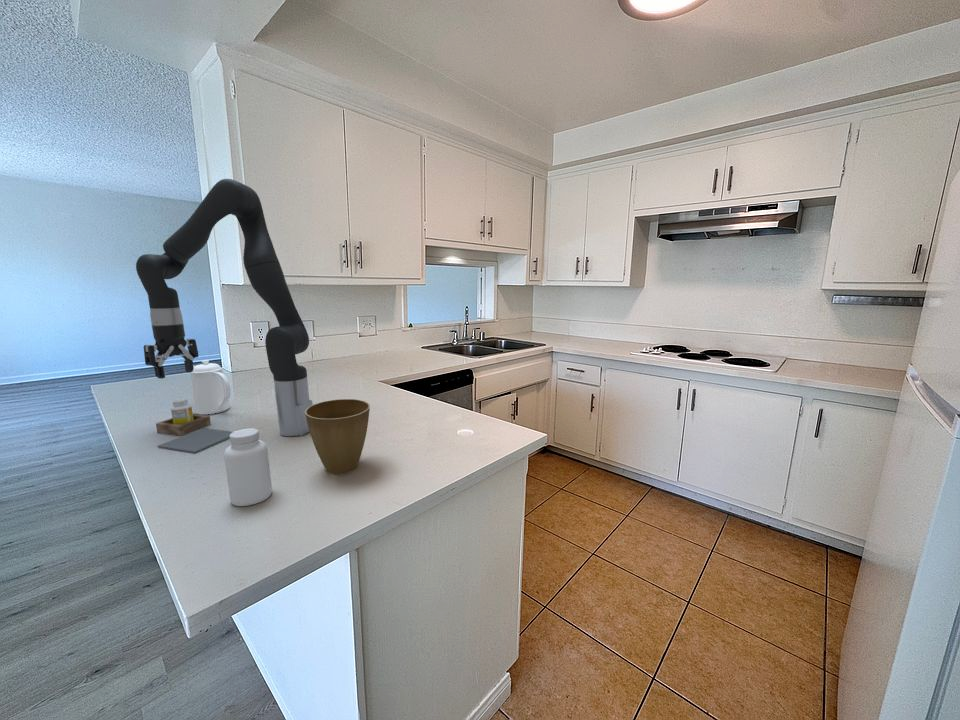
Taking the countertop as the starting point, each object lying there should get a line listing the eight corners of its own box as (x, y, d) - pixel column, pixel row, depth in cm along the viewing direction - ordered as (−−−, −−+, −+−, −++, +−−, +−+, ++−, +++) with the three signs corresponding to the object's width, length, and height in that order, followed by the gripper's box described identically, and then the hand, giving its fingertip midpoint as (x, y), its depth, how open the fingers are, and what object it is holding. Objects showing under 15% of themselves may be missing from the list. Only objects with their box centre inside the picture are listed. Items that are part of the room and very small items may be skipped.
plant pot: (307, 487, 89) (300, 421, 85) (314, 459, 103) (309, 401, 99) (374, 477, 93) (370, 414, 89) (372, 451, 107) (369, 396, 103)
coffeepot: (208, 401, 151) (201, 354, 148) (247, 411, 140) (240, 360, 136) (176, 409, 142) (168, 359, 138) (215, 420, 131) (207, 366, 127)
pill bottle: (279, 487, 89) (271, 425, 86) (261, 507, 81) (252, 440, 78) (244, 487, 88) (235, 425, 85) (222, 508, 81) (211, 440, 78)
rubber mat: (239, 434, 119) (239, 432, 119) (195, 453, 106) (194, 451, 106) (204, 429, 123) (204, 427, 123) (157, 447, 110) (157, 445, 110)
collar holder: (210, 424, 127) (209, 416, 126) (180, 436, 118) (179, 426, 117) (188, 421, 130) (186, 413, 129) (157, 432, 120) (155, 423, 120)
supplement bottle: (188, 424, 127) (184, 396, 125) (198, 427, 125) (193, 398, 123) (170, 430, 122) (165, 401, 121) (180, 432, 120) (175, 403, 118)
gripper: (151, 326, 109) (160, 381, 113) (199, 321, 123) (206, 370, 126) (132, 325, 111) (142, 379, 115) (181, 320, 125) (189, 369, 128)
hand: (175, 375), depth 120 cm, fingers open, 8 cm apart
